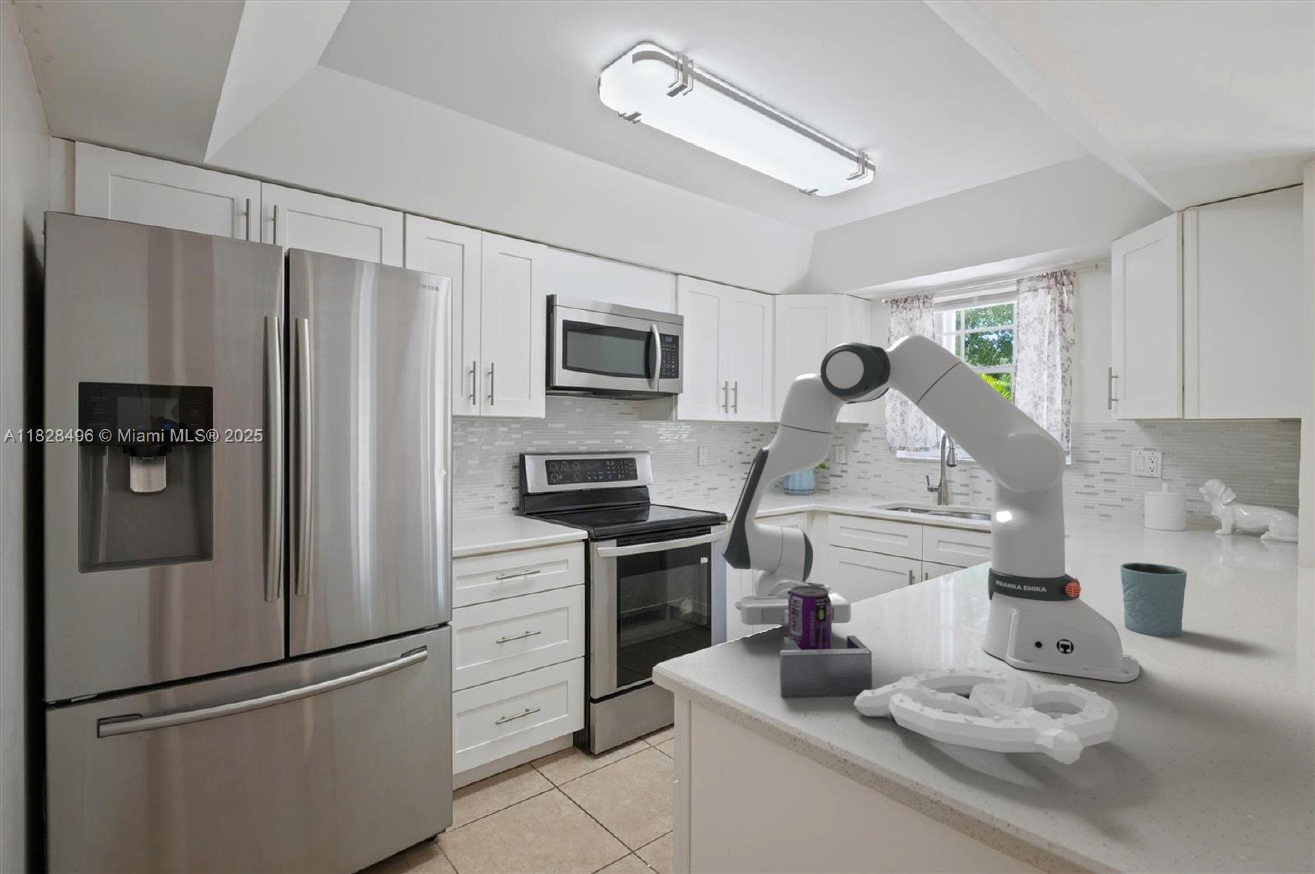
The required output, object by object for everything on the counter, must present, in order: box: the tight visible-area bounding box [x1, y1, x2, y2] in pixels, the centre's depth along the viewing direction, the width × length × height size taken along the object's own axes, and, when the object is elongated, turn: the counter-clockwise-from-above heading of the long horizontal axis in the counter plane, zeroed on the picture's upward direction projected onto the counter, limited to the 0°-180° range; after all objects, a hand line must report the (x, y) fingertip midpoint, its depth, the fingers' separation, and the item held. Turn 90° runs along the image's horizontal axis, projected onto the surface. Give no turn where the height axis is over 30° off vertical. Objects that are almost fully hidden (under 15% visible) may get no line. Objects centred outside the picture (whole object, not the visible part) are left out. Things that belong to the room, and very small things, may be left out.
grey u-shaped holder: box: [779, 635, 873, 698], centre depth 97 cm, size 9×14×7 cm, turn 92°
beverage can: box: [788, 586, 833, 650], centre depth 107 cm, size 7×7×12 cm
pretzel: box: [853, 667, 1119, 765], centre depth 81 cm, size 28×24×6 cm
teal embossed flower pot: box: [1119, 562, 1188, 638], centre depth 121 cm, size 10×10×12 cm
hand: (804, 622), depth 111 cm, fingers closed
